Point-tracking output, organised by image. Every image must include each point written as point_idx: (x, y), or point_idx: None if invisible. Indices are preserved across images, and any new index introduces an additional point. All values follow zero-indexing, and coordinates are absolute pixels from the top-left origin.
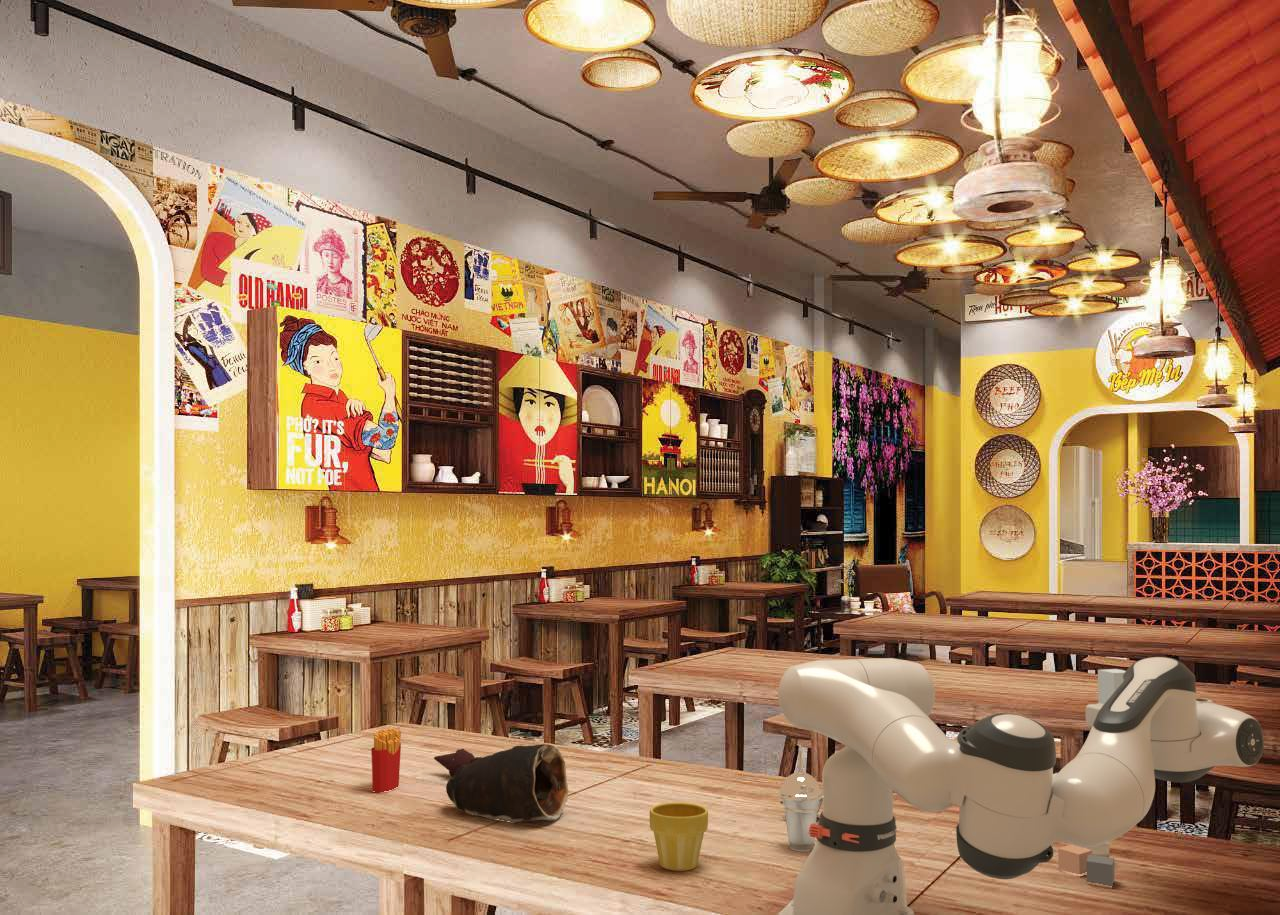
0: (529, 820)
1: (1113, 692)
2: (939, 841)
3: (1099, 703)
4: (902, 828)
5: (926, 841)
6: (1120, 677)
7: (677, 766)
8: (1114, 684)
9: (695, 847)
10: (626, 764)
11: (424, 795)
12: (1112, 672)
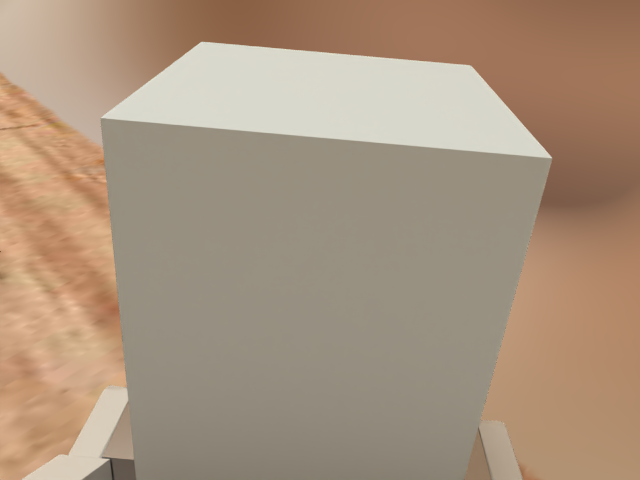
0: None
1: (137, 393)
2: (36, 449)
3: (105, 403)
4: (58, 366)
5: (9, 440)
6: (251, 215)
7: (60, 133)
8: (128, 304)
9: None
10: (12, 120)
11: None
12: (146, 102)
